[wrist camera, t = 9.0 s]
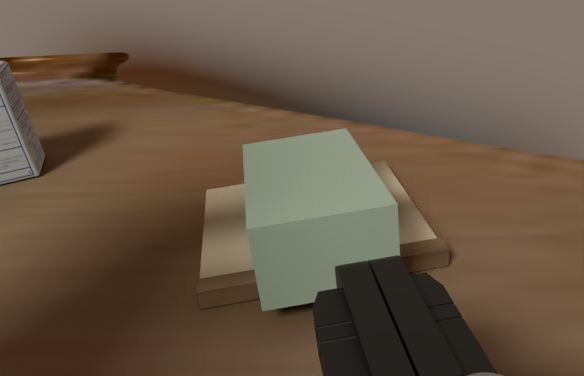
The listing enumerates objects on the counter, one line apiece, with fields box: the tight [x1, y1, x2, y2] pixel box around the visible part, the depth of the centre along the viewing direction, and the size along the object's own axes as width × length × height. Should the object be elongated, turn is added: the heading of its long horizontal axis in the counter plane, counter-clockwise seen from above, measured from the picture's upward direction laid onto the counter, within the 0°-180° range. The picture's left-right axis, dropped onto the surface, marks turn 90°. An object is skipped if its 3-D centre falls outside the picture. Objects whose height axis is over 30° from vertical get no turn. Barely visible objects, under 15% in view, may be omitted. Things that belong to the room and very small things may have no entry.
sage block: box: [243, 128, 400, 311], centre depth 25 cm, size 4×6×10 cm
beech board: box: [196, 161, 449, 309], centre depth 28 cm, size 11×12×1 cm
